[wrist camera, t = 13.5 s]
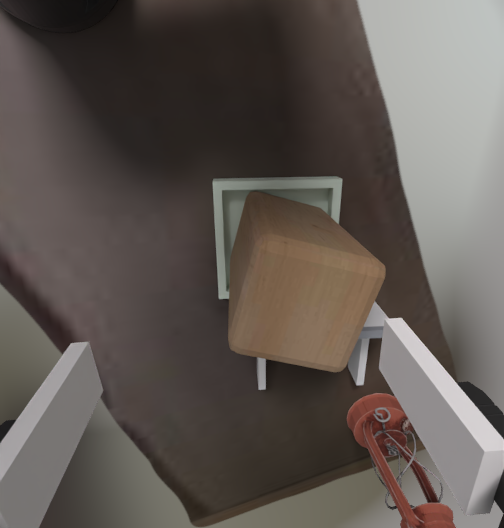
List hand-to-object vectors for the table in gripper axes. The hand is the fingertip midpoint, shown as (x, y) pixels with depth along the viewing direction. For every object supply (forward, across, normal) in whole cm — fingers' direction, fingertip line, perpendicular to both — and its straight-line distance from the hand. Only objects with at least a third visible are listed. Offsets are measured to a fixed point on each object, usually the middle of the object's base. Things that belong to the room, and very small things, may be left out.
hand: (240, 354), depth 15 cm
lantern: (+29, +20, -36) cm, 51 cm away
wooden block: (+29, +5, -4) cm, 30 cm away
